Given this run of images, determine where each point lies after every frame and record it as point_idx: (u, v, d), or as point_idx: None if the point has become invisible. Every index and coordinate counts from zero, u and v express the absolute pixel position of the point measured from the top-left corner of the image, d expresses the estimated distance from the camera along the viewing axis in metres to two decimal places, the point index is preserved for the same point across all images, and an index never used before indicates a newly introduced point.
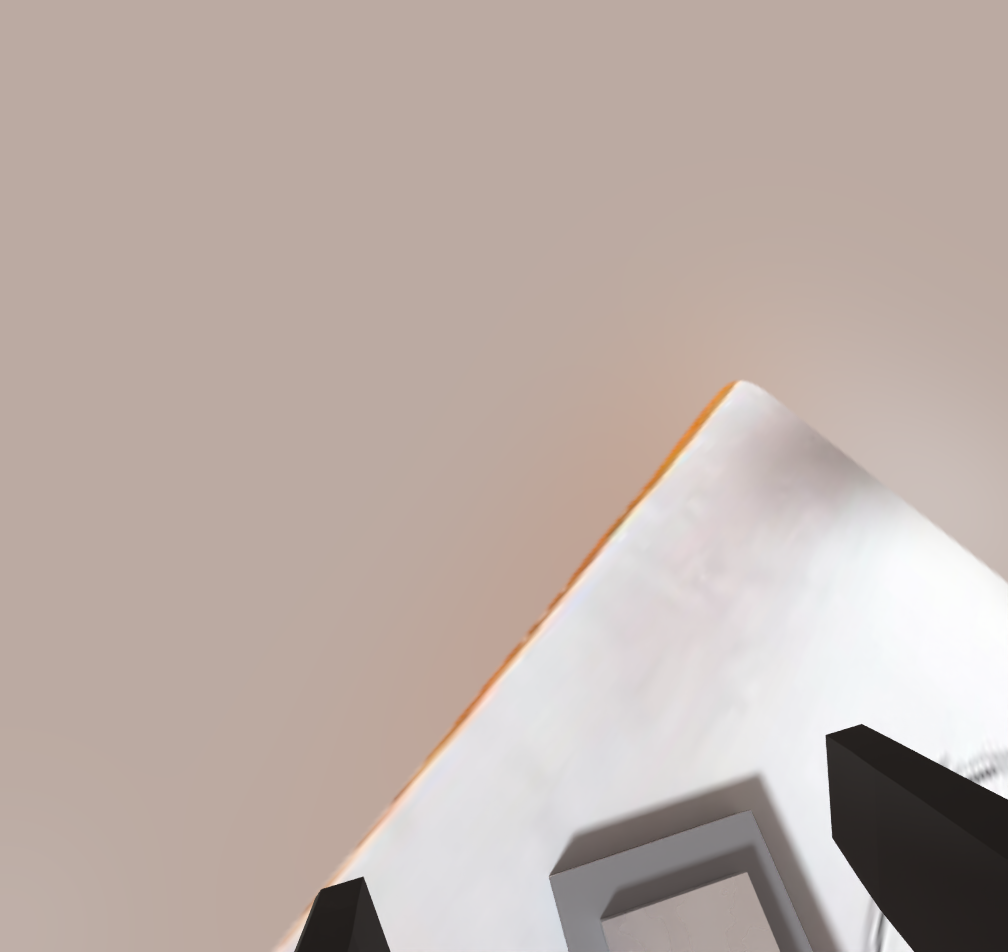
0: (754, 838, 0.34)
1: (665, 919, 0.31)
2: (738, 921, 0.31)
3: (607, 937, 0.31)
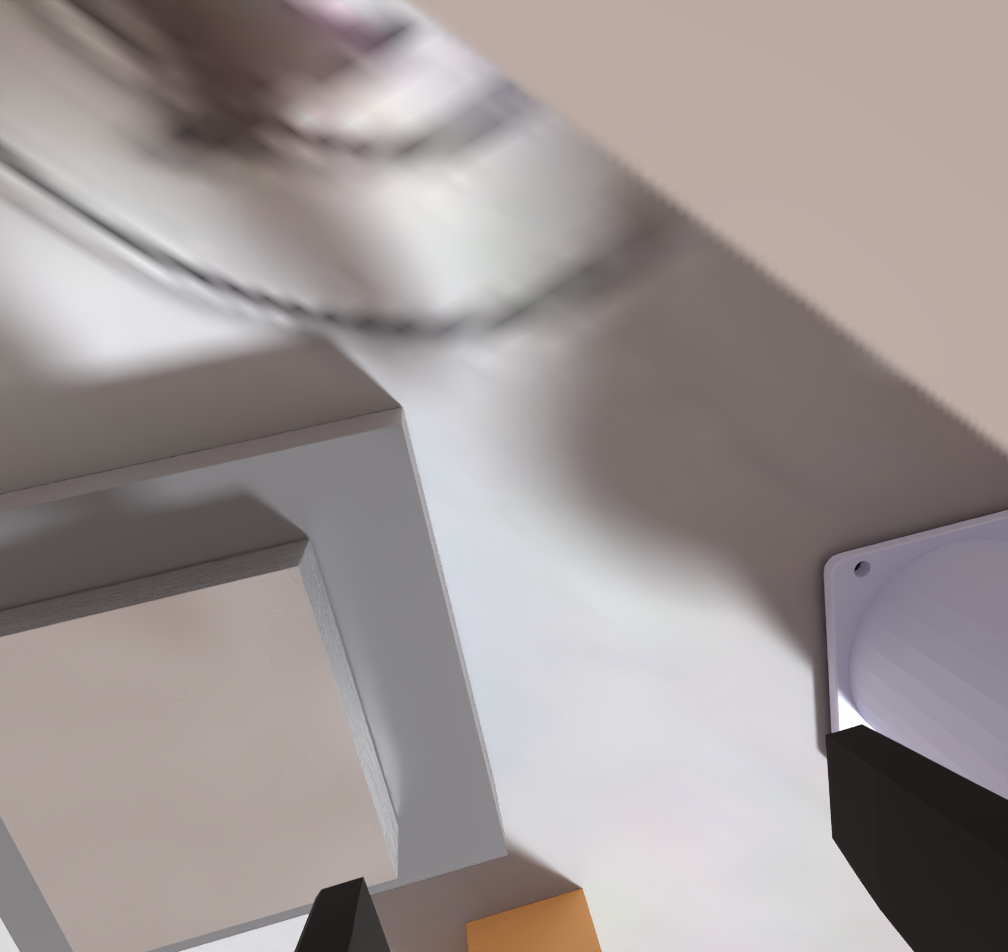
0: None
1: (61, 850, 0.13)
2: (46, 696, 0.12)
3: None
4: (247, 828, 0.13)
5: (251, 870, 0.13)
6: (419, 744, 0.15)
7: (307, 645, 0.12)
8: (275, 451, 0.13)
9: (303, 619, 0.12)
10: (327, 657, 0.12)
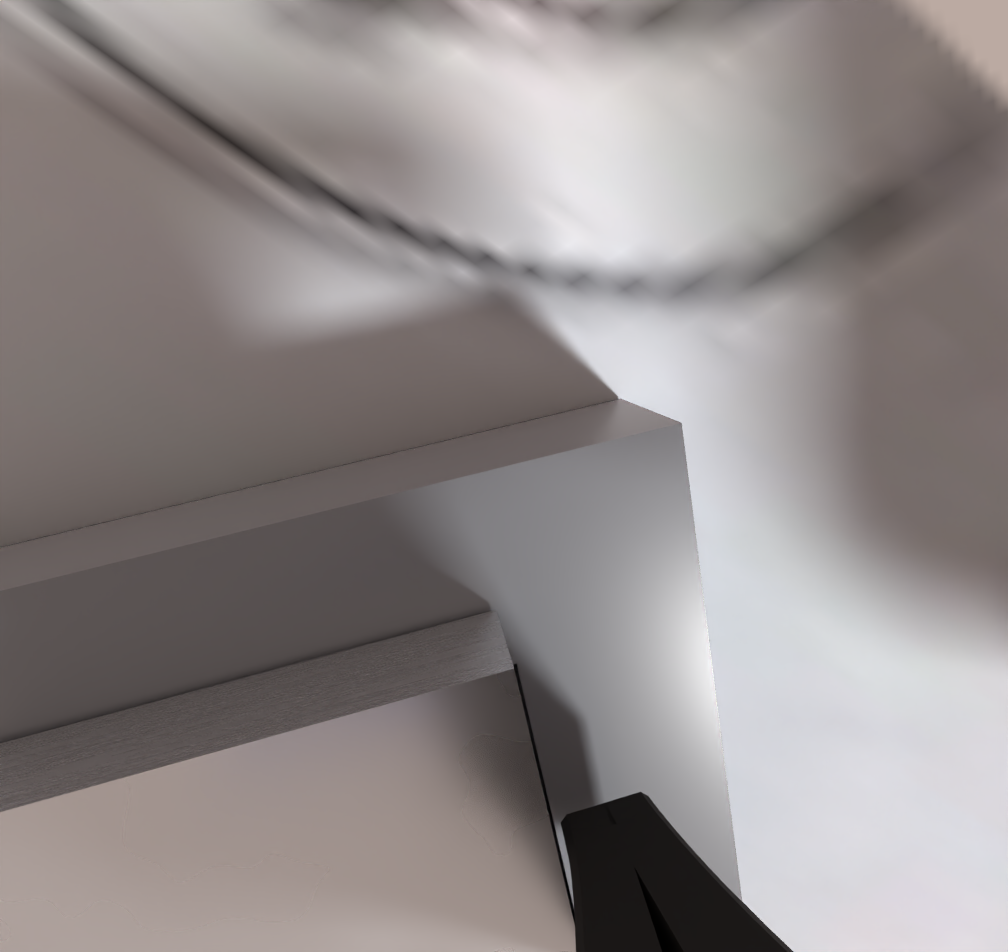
0: None
1: None
2: (108, 889, 0.07)
3: None
4: None
5: None
6: None
7: (518, 789, 0.08)
8: (494, 468, 0.08)
9: (515, 750, 0.08)
10: None
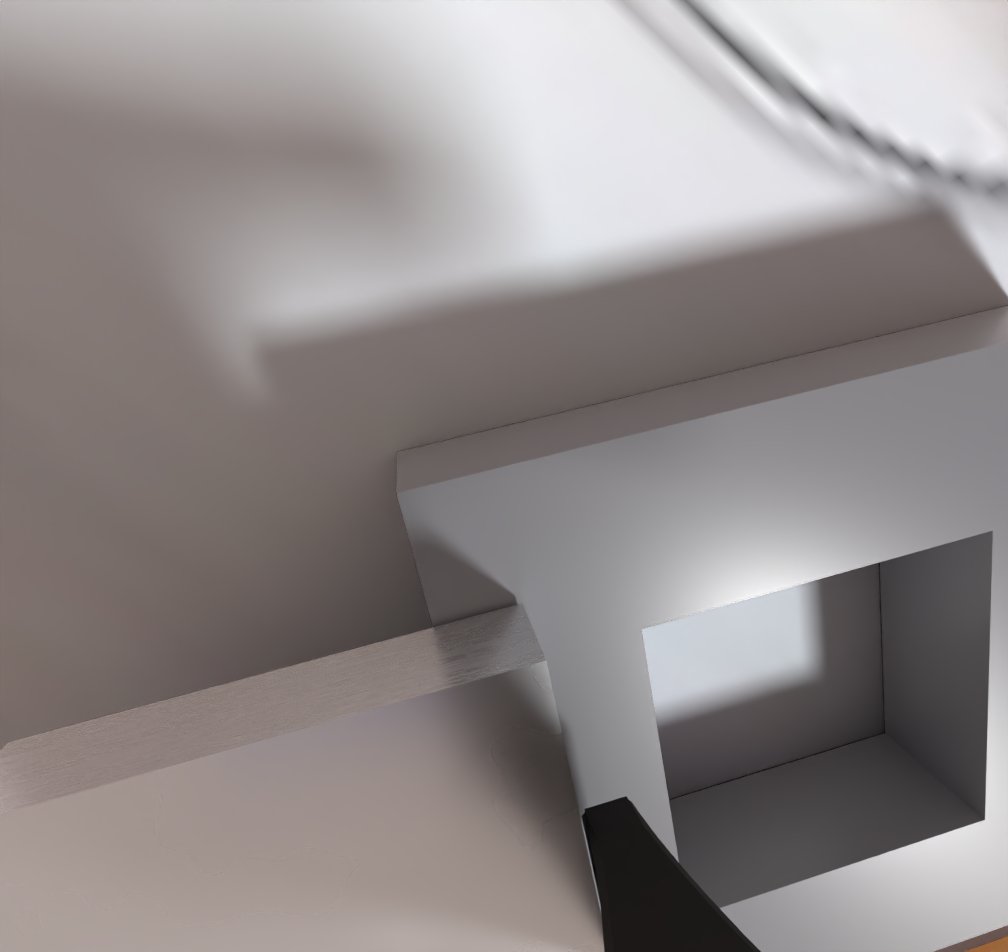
0: (500, 501, 0.08)
1: None
2: (140, 882, 0.07)
3: None
4: None
5: None
6: None
7: (548, 781, 0.08)
8: None
9: (546, 742, 0.08)
10: (575, 796, 0.08)
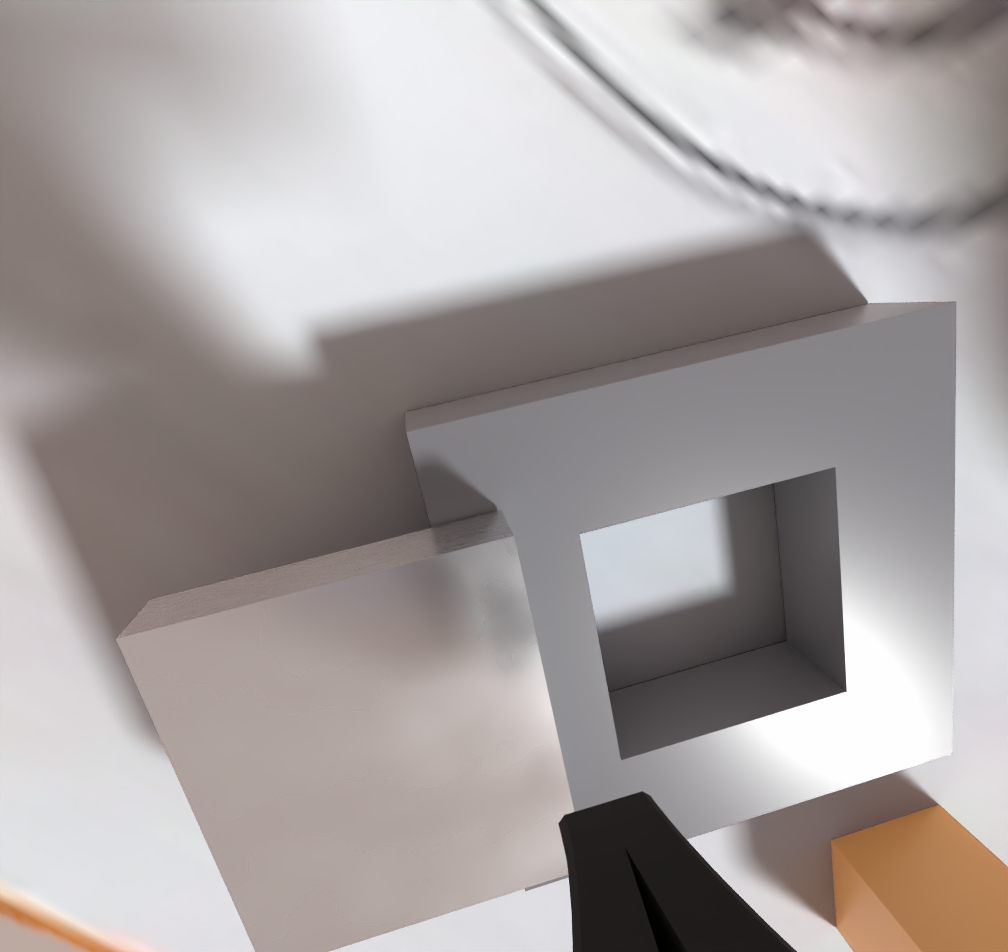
0: (477, 439, 0.12)
1: (252, 845, 0.12)
2: (248, 679, 0.11)
3: None
4: (441, 818, 0.12)
5: (441, 863, 0.13)
6: (902, 636, 0.15)
7: (516, 621, 0.12)
8: (840, 328, 0.13)
9: (514, 592, 0.11)
10: (535, 634, 0.12)
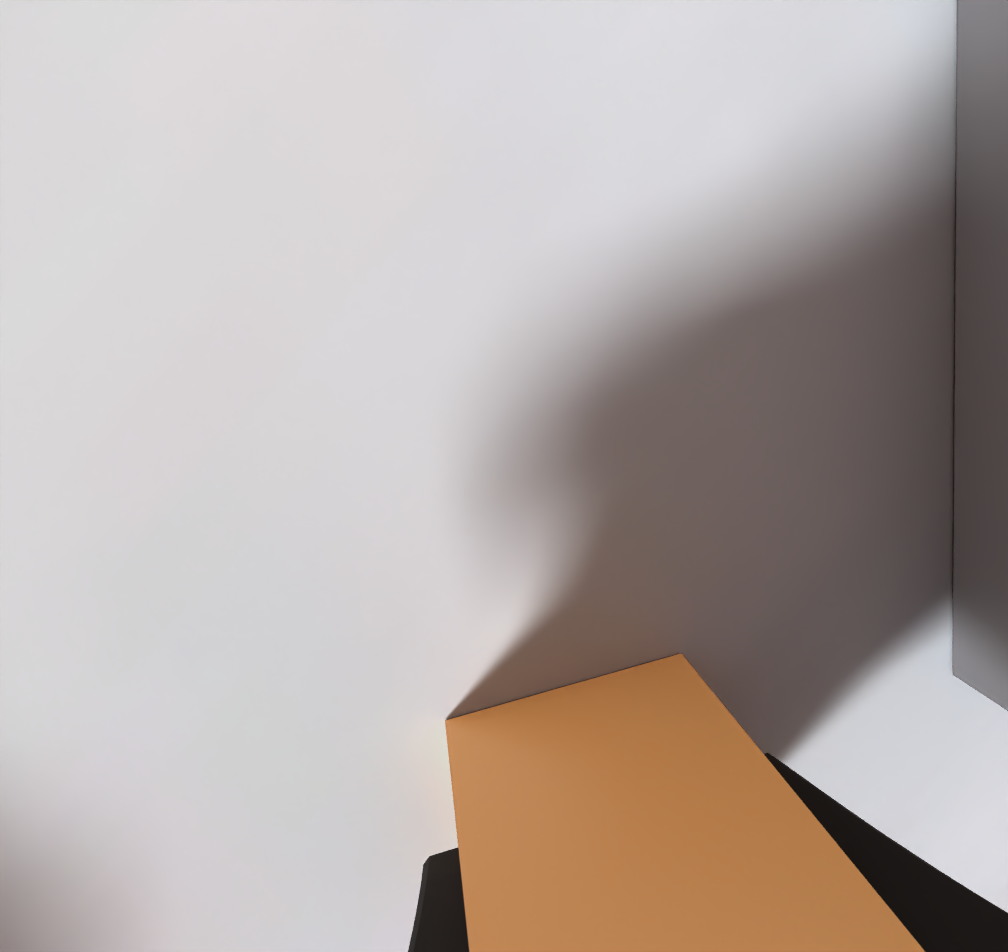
0: None
1: None
2: None
3: None
4: None
5: None
6: None
7: None
8: None
9: None
10: None
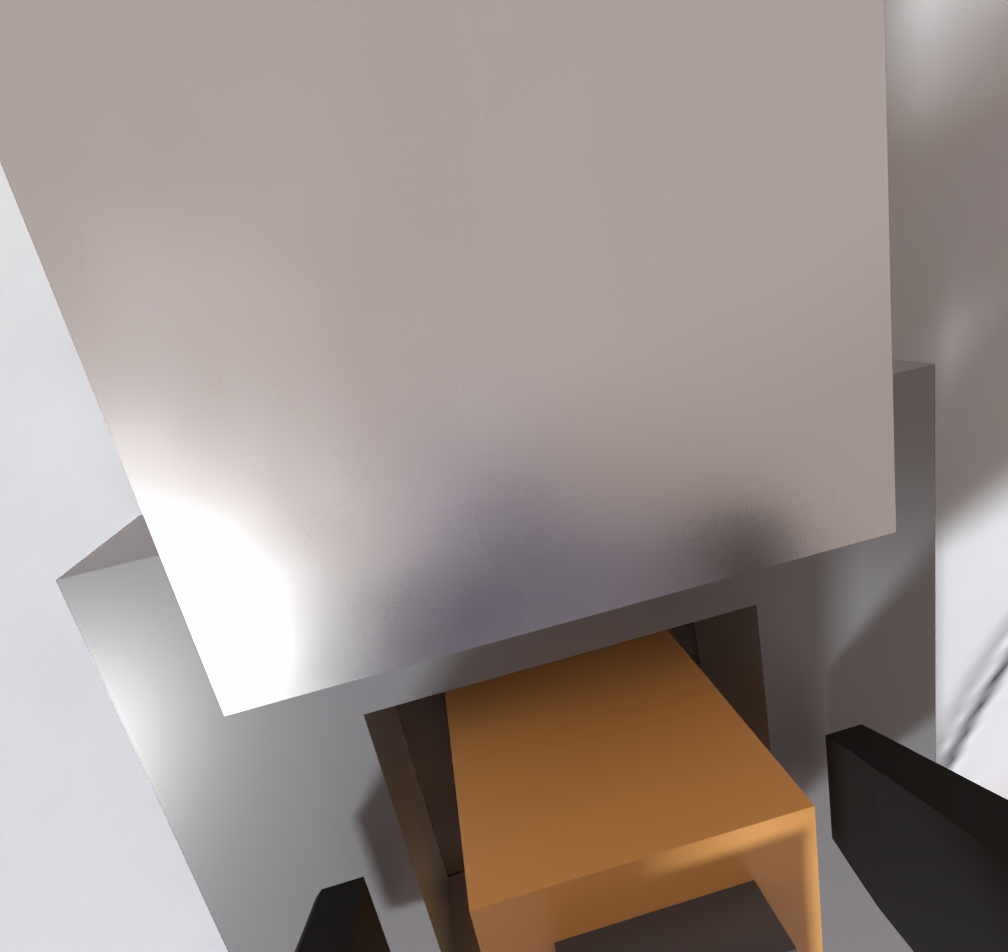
0: (906, 460, 0.09)
1: None
2: (751, 62, 0.06)
3: None
4: (382, 425, 0.06)
5: (263, 426, 0.06)
6: None
7: (762, 544, 0.07)
8: None
9: (810, 538, 0.07)
10: (734, 575, 0.07)
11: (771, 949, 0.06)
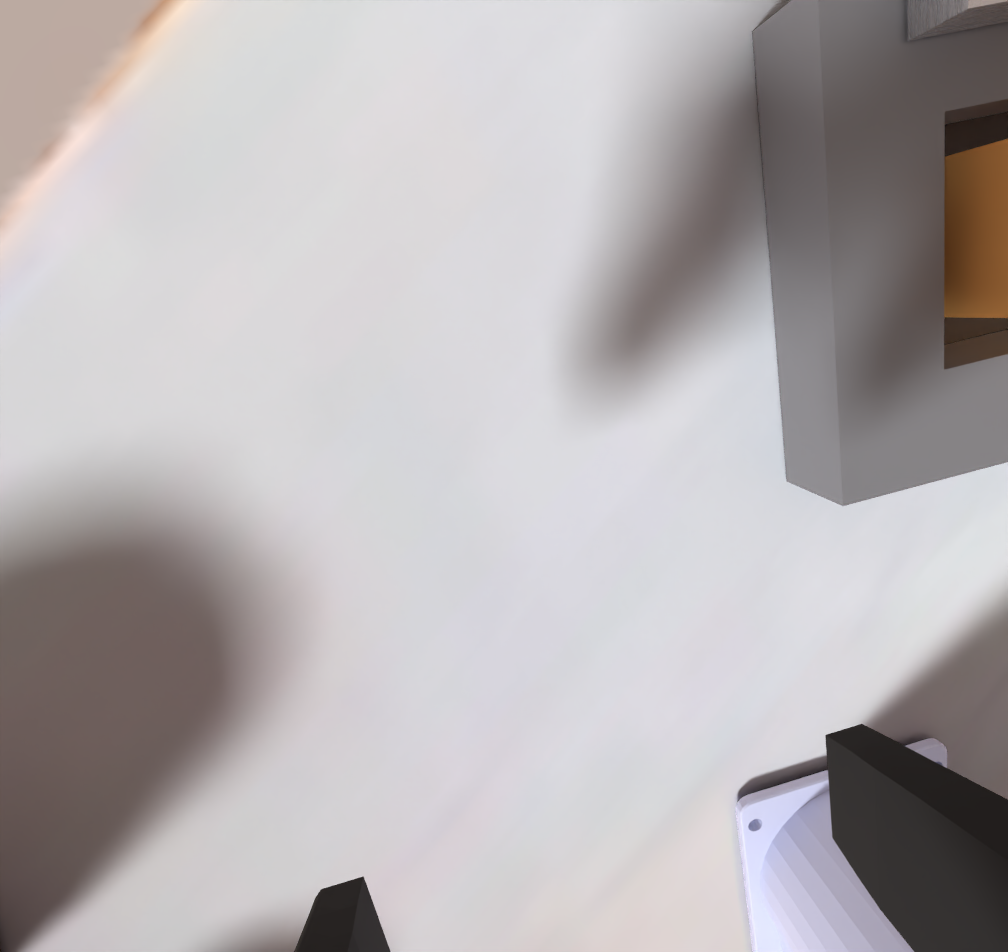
0: None
1: None
2: None
3: None
4: None
5: None
6: (981, 418, 0.16)
7: None
8: None
9: None
10: None
11: None
